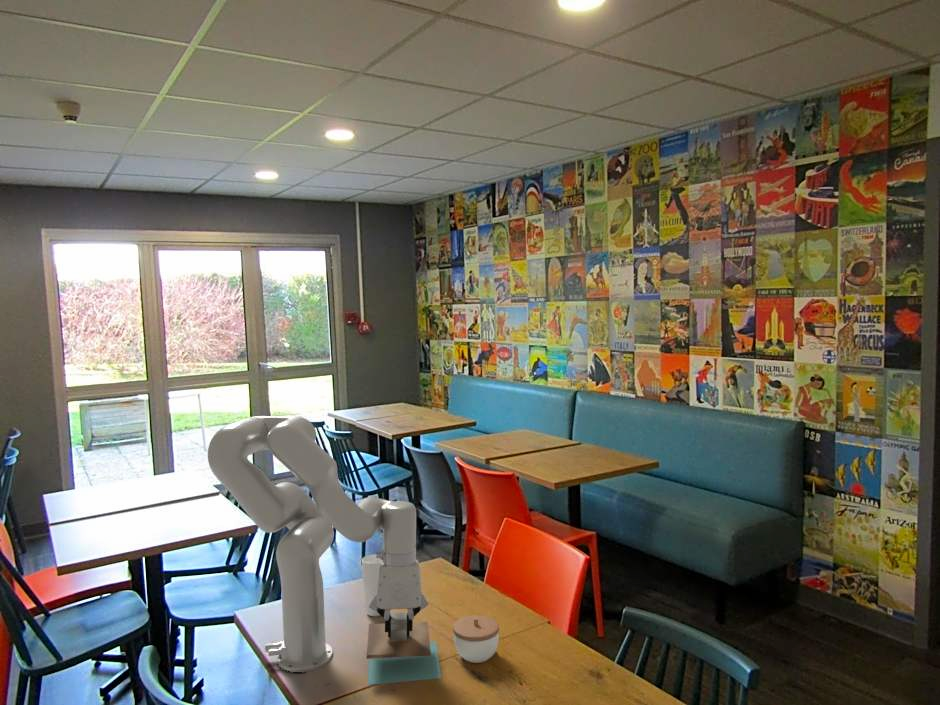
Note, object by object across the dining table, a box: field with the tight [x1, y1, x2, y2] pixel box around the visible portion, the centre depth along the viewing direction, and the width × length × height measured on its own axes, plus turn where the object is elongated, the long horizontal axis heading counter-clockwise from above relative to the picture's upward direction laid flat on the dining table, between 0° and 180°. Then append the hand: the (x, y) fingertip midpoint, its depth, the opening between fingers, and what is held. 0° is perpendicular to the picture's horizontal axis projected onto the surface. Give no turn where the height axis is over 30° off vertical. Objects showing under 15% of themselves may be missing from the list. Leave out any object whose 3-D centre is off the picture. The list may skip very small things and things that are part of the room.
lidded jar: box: [452, 614, 500, 664], centre depth 152 cm, size 11×11×9 cm
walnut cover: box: [366, 612, 431, 660], centre depth 149 cm, size 14×14×6 cm
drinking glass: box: [361, 553, 382, 617], centre depth 175 cm, size 7×7×15 cm
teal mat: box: [367, 641, 442, 686], centre depth 150 cm, size 16×16×1 cm
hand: (398, 633), depth 150 cm, fingers closed on walnut cover, 3 cm apart
